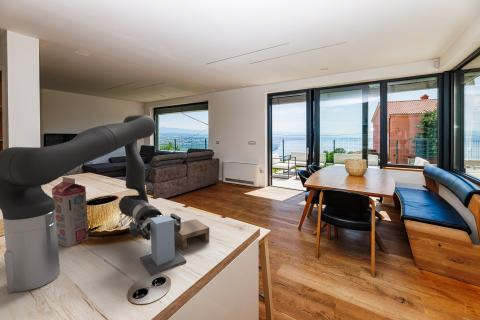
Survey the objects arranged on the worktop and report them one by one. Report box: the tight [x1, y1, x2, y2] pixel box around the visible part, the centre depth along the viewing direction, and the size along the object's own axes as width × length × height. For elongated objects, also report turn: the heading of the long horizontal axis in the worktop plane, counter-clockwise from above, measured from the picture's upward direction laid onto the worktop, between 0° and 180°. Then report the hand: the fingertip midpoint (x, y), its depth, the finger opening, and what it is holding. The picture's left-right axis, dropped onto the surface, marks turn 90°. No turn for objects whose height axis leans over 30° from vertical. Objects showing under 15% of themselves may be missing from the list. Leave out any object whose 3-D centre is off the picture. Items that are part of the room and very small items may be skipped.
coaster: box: [139, 248, 187, 276], centre depth 65 cm, size 10×10×1 cm
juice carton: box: [51, 176, 89, 248], centre depth 75 cm, size 7×7×22 cm
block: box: [150, 214, 176, 265], centre depth 64 cm, size 5×5×12 cm
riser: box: [174, 218, 210, 251], centre depth 77 cm, size 10×10×5 cm
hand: (164, 232), depth 62 cm, fingers open, 8 cm apart
